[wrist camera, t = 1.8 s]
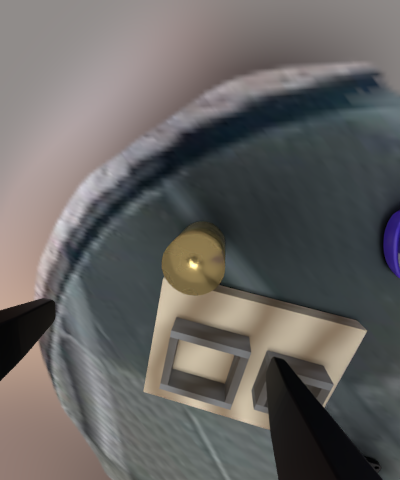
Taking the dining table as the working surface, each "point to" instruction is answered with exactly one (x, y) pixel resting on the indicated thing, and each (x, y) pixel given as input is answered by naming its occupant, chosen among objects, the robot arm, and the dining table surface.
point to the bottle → (393, 243)
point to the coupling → (195, 259)
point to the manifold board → (243, 350)
